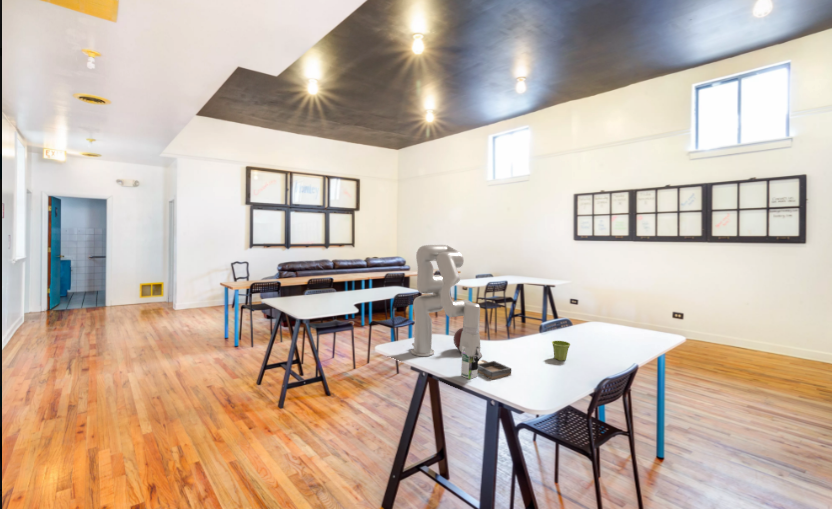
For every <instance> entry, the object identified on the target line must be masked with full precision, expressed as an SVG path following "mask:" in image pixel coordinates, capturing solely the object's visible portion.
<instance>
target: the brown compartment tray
mask: <svg viewBox="0 0 832 509" xmlns="http://www.w3.org/2000/svg"><path fill="white" fill-rule="evenodd" d="M478 373H479V374H480V375H483V376H484V377H486V378H488V377H489V379H491V380H495V379H499V378H503V377H504V376H505V377H509V376H511V375H512V368H511V367H509V366H506V365H505V364H502V363H500V362H499V361H498V362H497V361H495V360H492V361H486V360H484V359H482V360H481V359H480V360H479V361H478ZM508 375H509V376H508Z"/></svg>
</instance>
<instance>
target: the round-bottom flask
mask: <svg viewBox="0 0 832 509" xmlns="http://www.w3.org/2000/svg"><path fill="white" fill-rule="evenodd" d="M462 331H463V327H461V328H459V329H457V330H456V331H455V333H454V334H453V335H454V336H453V344H454V346H455V348H456V349H458V350H459V351H460V349H459V346H460V339H461V334H462Z"/></svg>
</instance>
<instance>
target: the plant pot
mask: <svg viewBox="0 0 832 509" xmlns="http://www.w3.org/2000/svg"><path fill="white" fill-rule="evenodd" d="M551 343H552V348H553V358H554V360H557V361H565V360H567V356H568V353H569V352H568V351H569V348H570V346H571V343H570V342H568V341H565V340H552V341H551Z"/></svg>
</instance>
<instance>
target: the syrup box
mask: <svg viewBox="0 0 832 509" xmlns="http://www.w3.org/2000/svg"><path fill="white" fill-rule="evenodd" d="M465 349H466V348H465V347H464V346H462V356H461V368H460V369H461V370H460V376H461V377H463V378H465V379H469V380H471V379H475V378H477V377H478V369H477V370H472V362H473V360H472V356H469V355H467V354H465ZM475 354H476V353H475ZM474 357H475V358H476V356H474Z"/></svg>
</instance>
